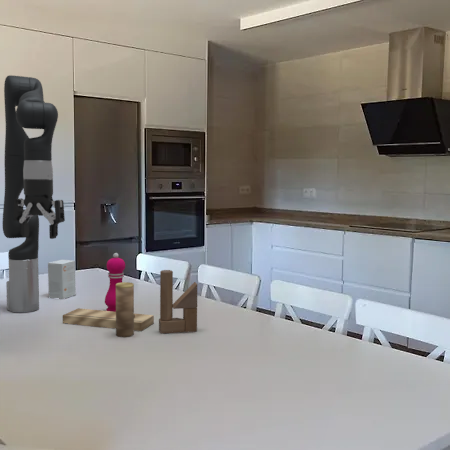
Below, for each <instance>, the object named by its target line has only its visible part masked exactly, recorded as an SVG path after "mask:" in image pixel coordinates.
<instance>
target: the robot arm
mask: <svg viewBox="0 0 450 450" xmlns="http://www.w3.org/2000/svg"><path fill="white" fill-rule="evenodd" d="M3 85H4V87H3V97H4V116H5V117H4V118H5V135H4V136H5V137H4V138H5V141H4V199H3V207H2V208H3V210H2V211H3V212H2V231H3V235H4V237H6V238H7V239H20V238H22V239H23V238H25V240H24V241H23V242H22V243H20V244H19V245H17V246H15V247H12V248H10V249H9V251H8V281H6V285H5V287H6V310H7V311H10V312H11V313H30V312H35V311H37V310H39V309H40V290H39V289H40V288H39V286H40V285H39V283H40V282H39V280H40V278H39V248H40V247H39V246H40V245H39V243H40V242H39V240H40V239H39V236H40V218H39V216H43V217H44V218H45V219H46V220H47V221H48V223H49V228H48V229H49V239H51V240H53V239H56V238H57V237H58V235H59V234H58V233H59V231H58V230H59V229H58V228H59V224H60V223H61V224H62V223H64V222H65V221H66V220H65V219H66V217H65V207H64V205H65V204H64V203H65V202H64V200H63V199H56V200H54V199H53V195H54V174H53V173H54V171H53V163H52V159H53V158H52V146H53V138H54V134H55V133H54V132H55V129H56V127H57V123H58V118H59V112H58V109H57V106H55V105H54V104H53V103H50V102H45V101H44V99H45V98H44V90H43V85H42V83H41V81H40V80H39V79H38V78H35V77H32V76H31V77H30V76H22V75H12V74H10V75H7V76H6V77H5V79H4V84H3ZM25 129H27V130H28V129H29V130H30V129H32V130H43V132H42V134H41V135H39V136H35V137H30V136H29V135H28V134H27V132H26V131H25ZM22 192H23V194H24V198H19V197H20V195H21V193H22ZM24 206H25V209H24ZM53 208H54V209H53Z"/></svg>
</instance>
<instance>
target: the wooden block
mask: <svg viewBox="0 0 450 450" xmlns="http://www.w3.org/2000/svg"><path fill="white" fill-rule="evenodd" d="M159 275H160V276H159V277H160V280H159V281H160V284H159V285H160V287H159V290H160V291H159V293H160V296H159V297H160V299H159V303H160V305H159V308H160V310H159V313H160V314H159V315H160V316H159V319H158V331H159V333H160V334H175V333H176V334H177V333H193V332H194V333H195V332H197V331H198V283H197V282H196V281H194V282H193V283H191V285H190V286H189V287H188V288H187V289H186V290H185V291H184V292H183V293H182V294H181V295H180V296H179V297H178V298H177V299H176V300H175V302H174V301H173V297H174V296H173V294H174V293H173V290H174V289H173V288H174V287H173V286H174V284H173V283H174V279H173V278H174V272H173V270H171V269H162V270H161V271H160V274H159ZM176 309H177V310H178V309H182V312H183V313H182V318H181V317H180V318H179V317H173V313H174V312H173V310H176Z"/></svg>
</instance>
